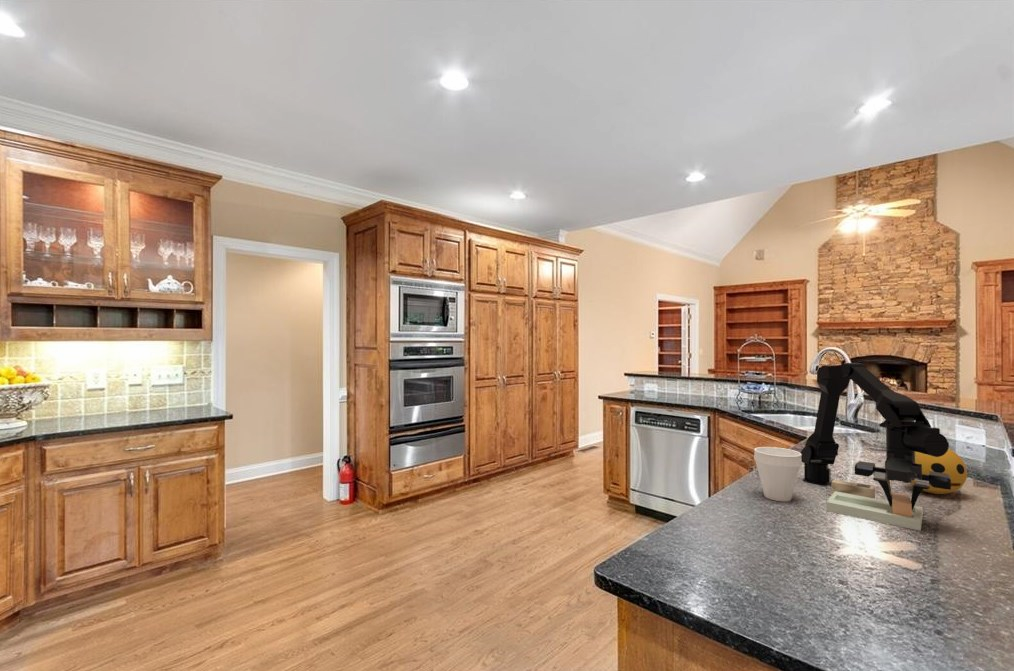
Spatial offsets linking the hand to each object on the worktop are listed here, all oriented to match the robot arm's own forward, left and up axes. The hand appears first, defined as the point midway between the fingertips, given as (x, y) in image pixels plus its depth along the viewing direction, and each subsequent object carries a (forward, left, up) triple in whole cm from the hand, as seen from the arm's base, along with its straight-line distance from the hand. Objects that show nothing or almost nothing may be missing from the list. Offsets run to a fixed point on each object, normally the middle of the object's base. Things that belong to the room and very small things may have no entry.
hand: (901, 507), depth 118 cm
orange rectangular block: (0, 0, -1) cm, 1 cm away
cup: (-28, -4, -3) cm, 28 cm away
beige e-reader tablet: (-12, +13, -3) cm, 18 cm away
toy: (+5, +35, -3) cm, 36 cm away
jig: (-6, 0, -3) cm, 6 cm away
